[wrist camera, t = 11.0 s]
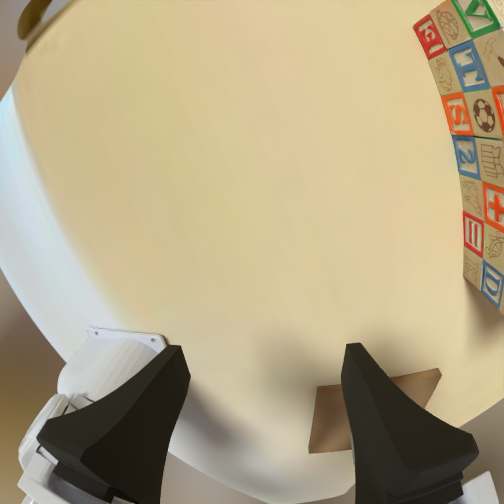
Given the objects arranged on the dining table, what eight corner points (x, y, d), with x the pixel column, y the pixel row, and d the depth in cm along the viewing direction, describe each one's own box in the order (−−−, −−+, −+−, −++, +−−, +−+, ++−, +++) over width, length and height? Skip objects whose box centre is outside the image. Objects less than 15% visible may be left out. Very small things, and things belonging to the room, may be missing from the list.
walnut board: (308, 446, 29) (308, 453, 28) (317, 386, 24) (318, 395, 23) (403, 432, 27) (405, 438, 26) (438, 368, 22) (442, 375, 21)
